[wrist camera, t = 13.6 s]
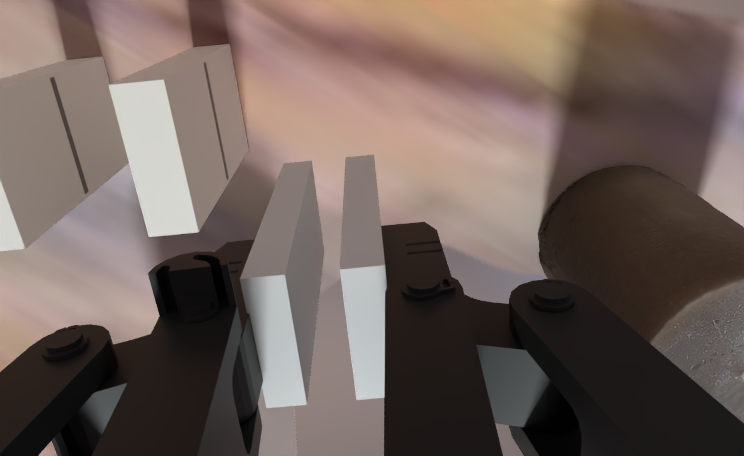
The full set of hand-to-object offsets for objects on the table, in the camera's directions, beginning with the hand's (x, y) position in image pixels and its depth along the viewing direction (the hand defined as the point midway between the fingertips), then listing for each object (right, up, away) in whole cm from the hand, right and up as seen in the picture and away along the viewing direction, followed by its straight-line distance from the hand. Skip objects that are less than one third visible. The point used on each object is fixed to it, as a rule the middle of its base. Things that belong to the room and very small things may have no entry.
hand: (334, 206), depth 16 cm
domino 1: (-14, +6, +17) cm, 23 cm away
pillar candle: (+16, -1, +21) cm, 27 cm away
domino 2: (-7, +7, +17) cm, 20 cm away
